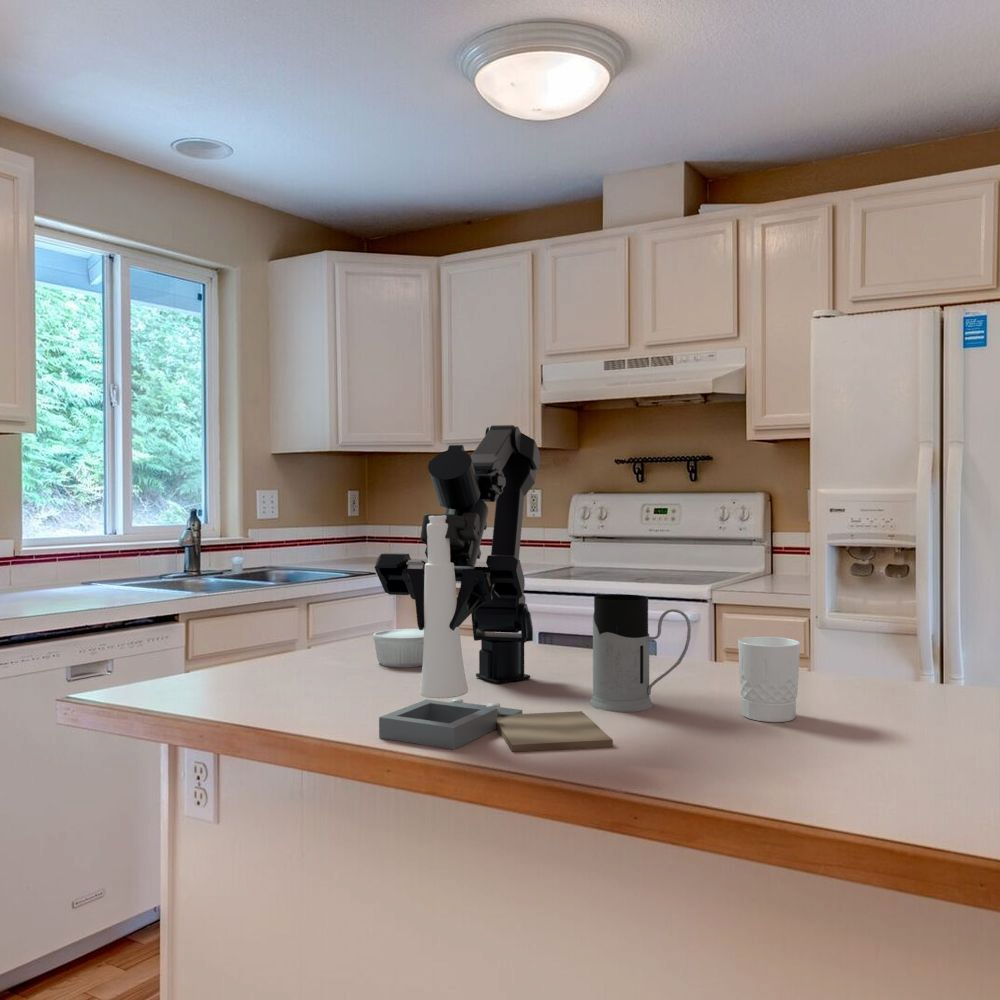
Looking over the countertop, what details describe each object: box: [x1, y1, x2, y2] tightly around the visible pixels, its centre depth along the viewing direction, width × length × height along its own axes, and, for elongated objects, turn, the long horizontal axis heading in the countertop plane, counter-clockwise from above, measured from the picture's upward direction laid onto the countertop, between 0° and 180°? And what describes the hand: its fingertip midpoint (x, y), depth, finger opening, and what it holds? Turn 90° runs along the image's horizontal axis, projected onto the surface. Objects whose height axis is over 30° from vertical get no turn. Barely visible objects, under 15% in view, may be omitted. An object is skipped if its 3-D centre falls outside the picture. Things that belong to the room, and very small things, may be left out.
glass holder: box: [589, 593, 692, 713], centre depth 128 cm, size 9×14×15 cm, turn 64°
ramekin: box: [372, 628, 424, 668], centre depth 160 cm, size 11×11×5 cm
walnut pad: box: [497, 710, 614, 753], centre depth 114 cm, size 14×12×1 cm
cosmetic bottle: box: [419, 515, 469, 699], centre depth 114 cm, size 6×6×22 cm
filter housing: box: [378, 697, 523, 750], centre depth 117 cm, size 18×11×2 cm, turn 152°
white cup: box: [737, 635, 801, 723], centre depth 122 cm, size 8×8×10 cm
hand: (435, 628), depth 113 cm, fingers closed on cosmetic bottle, 4 cm apart
